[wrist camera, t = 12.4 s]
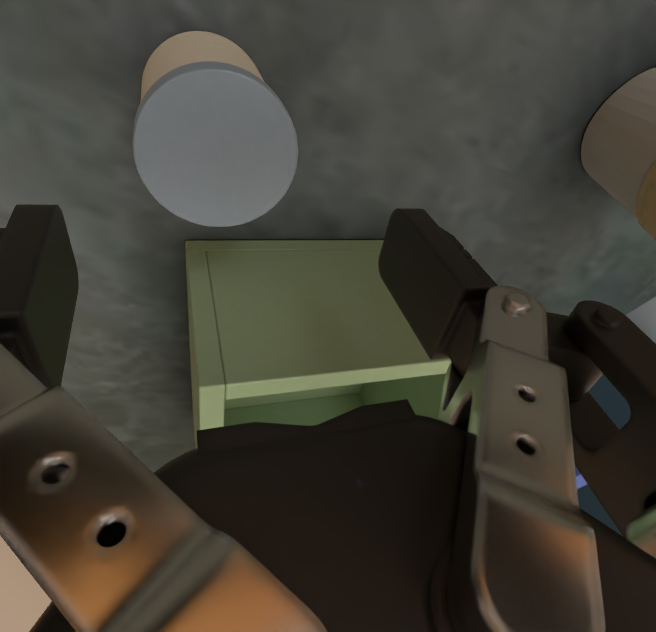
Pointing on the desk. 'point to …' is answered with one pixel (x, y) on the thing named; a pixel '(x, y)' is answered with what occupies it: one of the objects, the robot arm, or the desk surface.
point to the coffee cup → (626, 148)
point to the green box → (299, 334)
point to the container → (211, 133)
